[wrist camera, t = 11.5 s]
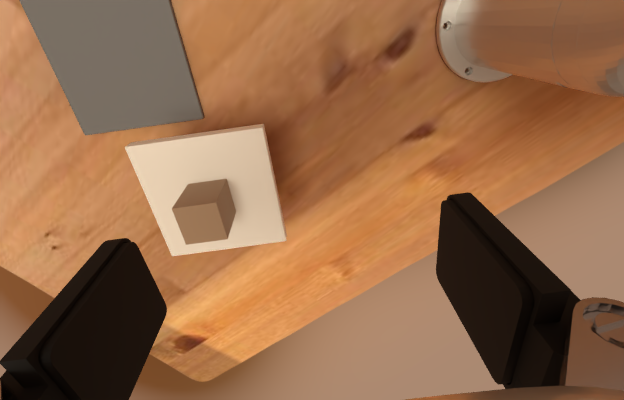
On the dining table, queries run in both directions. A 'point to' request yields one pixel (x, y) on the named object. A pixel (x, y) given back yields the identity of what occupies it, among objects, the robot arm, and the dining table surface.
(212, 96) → the dining table surface
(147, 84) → the grey flat square slab
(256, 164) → the lid
